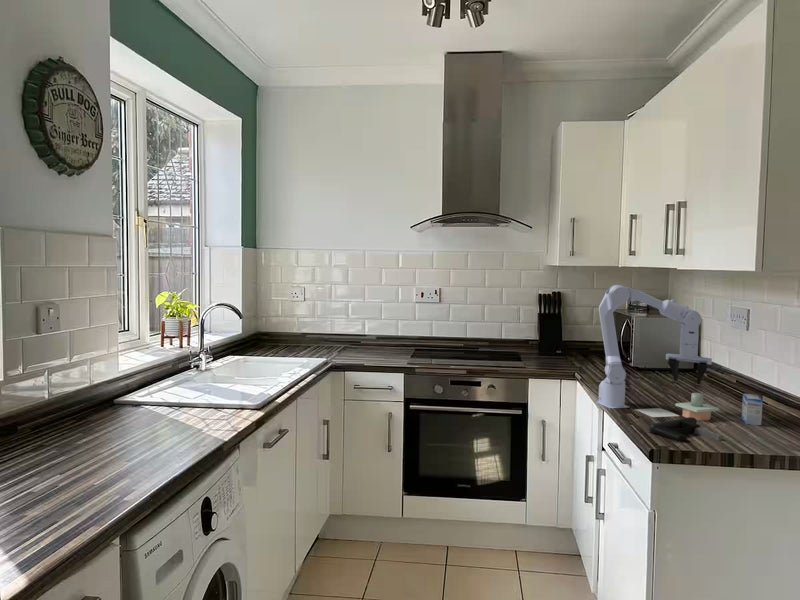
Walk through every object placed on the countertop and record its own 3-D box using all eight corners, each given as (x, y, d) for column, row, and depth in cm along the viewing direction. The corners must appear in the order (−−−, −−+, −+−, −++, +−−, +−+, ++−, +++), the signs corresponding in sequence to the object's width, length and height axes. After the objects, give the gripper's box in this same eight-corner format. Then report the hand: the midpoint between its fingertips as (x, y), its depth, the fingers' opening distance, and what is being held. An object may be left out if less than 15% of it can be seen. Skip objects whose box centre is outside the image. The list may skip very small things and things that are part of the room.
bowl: (677, 415, 196) (678, 405, 196) (698, 414, 198) (698, 404, 197) (694, 422, 188) (694, 411, 188) (715, 421, 190) (716, 410, 189)
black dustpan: (734, 430, 172) (686, 414, 186) (692, 439, 162) (644, 422, 176) (733, 441, 172) (685, 424, 186) (691, 450, 163) (643, 432, 177)
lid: (675, 405, 196) (676, 391, 195) (696, 403, 198) (697, 390, 198) (697, 412, 187) (697, 397, 187) (718, 410, 190) (719, 396, 189)
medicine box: (741, 418, 193) (742, 393, 193) (756, 420, 192) (757, 394, 191) (745, 424, 186) (747, 398, 186) (761, 426, 184) (763, 399, 184)
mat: (634, 410, 202) (634, 409, 202) (660, 409, 204) (660, 408, 204) (652, 418, 192) (652, 417, 192) (680, 417, 194) (680, 415, 194)
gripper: (663, 342, 203) (661, 380, 204) (708, 347, 193) (706, 386, 194) (670, 340, 208) (668, 377, 209) (714, 345, 198) (712, 383, 199)
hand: (687, 382), depth 202 cm, fingers open, 7 cm apart
